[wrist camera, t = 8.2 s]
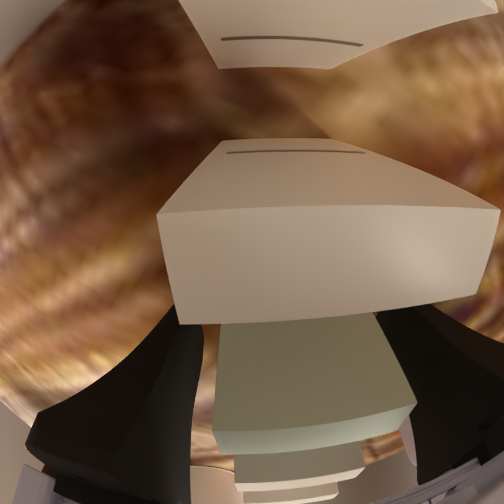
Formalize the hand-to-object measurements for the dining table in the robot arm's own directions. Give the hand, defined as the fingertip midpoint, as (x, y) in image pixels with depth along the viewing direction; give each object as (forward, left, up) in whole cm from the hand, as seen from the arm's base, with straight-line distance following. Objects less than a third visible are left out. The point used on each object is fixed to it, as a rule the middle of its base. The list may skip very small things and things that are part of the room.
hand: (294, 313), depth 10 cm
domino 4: (+5, 0, -5) cm, 7 cm away
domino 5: (+10, 0, -5) cm, 11 cm away
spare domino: (0, 0, -5) cm, 5 cm away
